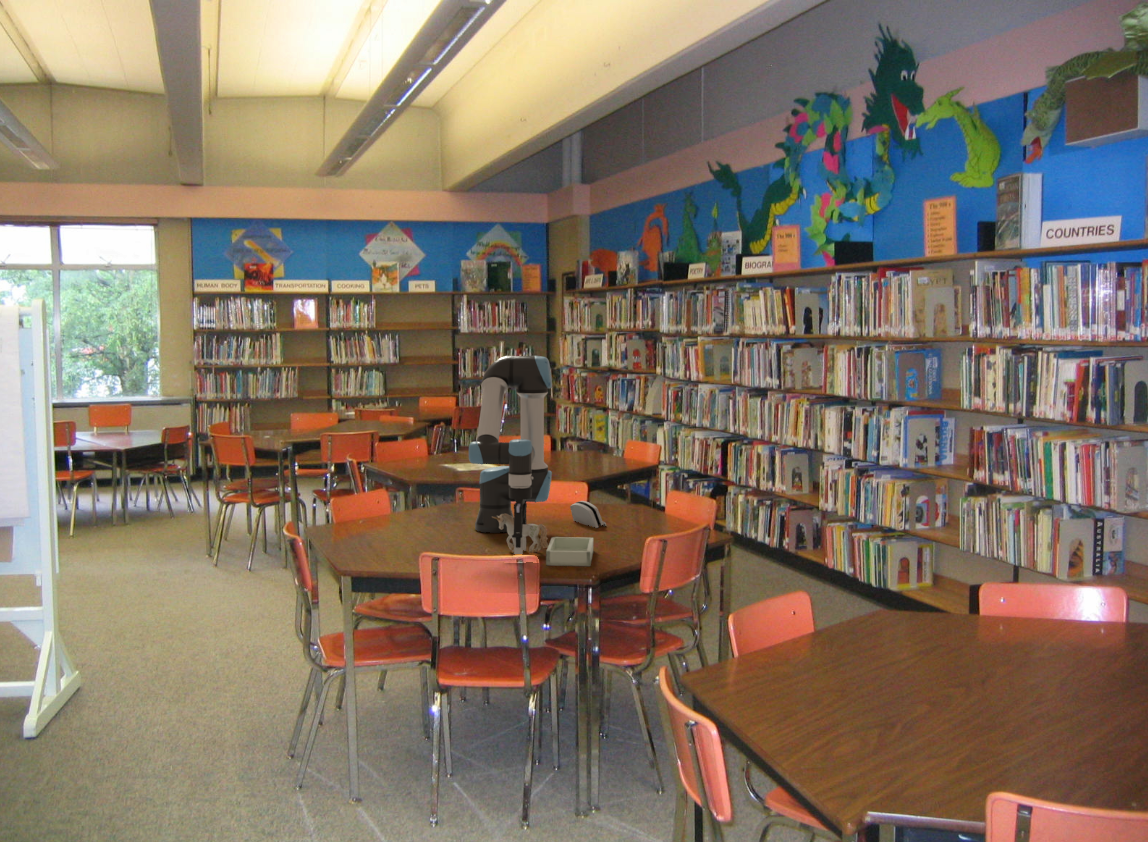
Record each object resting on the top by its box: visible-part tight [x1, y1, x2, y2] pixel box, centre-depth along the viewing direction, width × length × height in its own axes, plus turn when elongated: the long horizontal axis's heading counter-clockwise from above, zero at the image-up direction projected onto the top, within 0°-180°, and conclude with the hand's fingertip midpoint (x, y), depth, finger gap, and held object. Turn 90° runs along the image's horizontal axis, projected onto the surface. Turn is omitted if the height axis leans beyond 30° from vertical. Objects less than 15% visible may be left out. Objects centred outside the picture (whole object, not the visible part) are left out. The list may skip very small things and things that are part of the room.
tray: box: [545, 536, 594, 567], centre depth 317 cm, size 14×22×4 cm, turn 176°
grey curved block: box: [569, 500, 607, 529], centre depth 374 cm, size 17×5×10 cm, turn 31°
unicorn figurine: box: [492, 514, 549, 554], centre depth 324 cm, size 7×20×13 cm, turn 104°
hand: (520, 553), depth 323 cm, fingers open, 9 cm apart
